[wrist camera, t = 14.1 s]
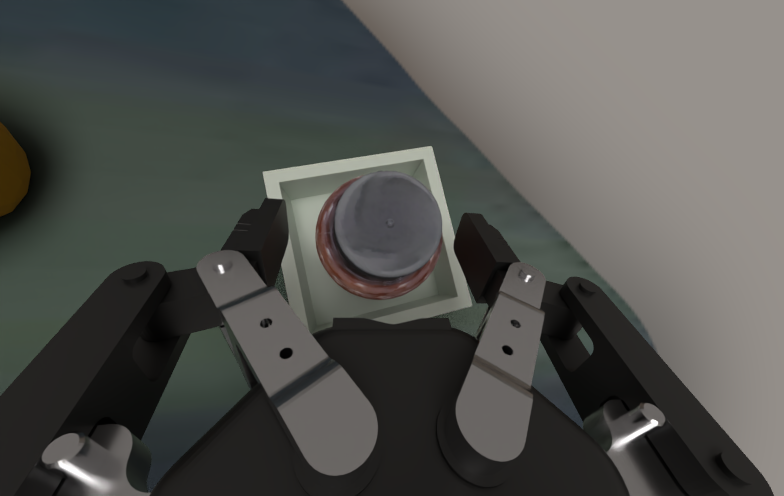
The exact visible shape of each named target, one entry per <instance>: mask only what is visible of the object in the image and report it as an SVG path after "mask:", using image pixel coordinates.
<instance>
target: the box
mask: <svg viewBox="0 0 784 496" xmlns="http://www.w3.org/2000/svg"><path fill="white" fill-rule="evenodd" d="M381 170H382V171H397V172H402V173H405V174H407V175H409V176H412V177H414V178H415V179H417V180H419V181H420V182H421V183H422V184H423V185H424V186H425V187H426V188H427V189H428V190H429V191H430V192H431V193H432V194H433V196H434V198H435V199H436V201H437V203H438V206H439V209H440V212H441V216H442V233H443V234H442V237H443V239H442V240H443V242H442V248H441V253H440V256H439V259H438V261H437V264H436V265H435V267H434V269H433V271H432V273H431V274H430V275H429V277H428V278H427V279H426V280H425V281H424V282H423V283H422V284H421V285H419V286H418V287H417V288H415V289H414V290H412V291H410V292H409V293H407V294H405V295H402V296H400V297H396V298H392V299H386V300H373V299H366V298H362V297H359V296H356V295H354V294H351V293H349V292H348V291H346V290H344V289H343V288H342V287H340V286H339V285H338V284H337V283H336V282H335V281H334V280H333V279H332V278H331V276H330V275H329V274H328V273H327V271H326V270H325V268H324V267H323V265H322V263H321V261H320V259H319V256H318V253H317V249H316V239H315V232H316V224H317V220H318V216H319V213H320V211H321V209H322V207H323V205H324V203H325V201H326V200H327V199H328V198H329V196H330V195H331V194H332V193H333V192H334V191H335V190H336V189H337V188H338V187H340V186H341V185H342V184H344V183H346V182H347V181H349V180H351V179H353V178H356V177H359V176H362V175H367V174H369V173H373V172H377V171H381ZM263 176H264V181H265V186H266V191H267V196H268V198H272V199H284V200H285V202H286V209H287V218H288V228H289V239H288V245H287V248H286V251H285V254H284V257H283V260H282V263H281V266H282V271H283V276H284V281H285V286H286V291H287V296H288V301H289V306H290V307H291V308H292V310H293V311H294V312H295V314H296V315H297V316H298V317H299V319H300V320H301V321H302V323H303V324H304V325H305V327H306V328H307V329H308V330H309V332H310V333H311V334H313V333H315V332H318V331H320V330H323V329H325V328H329V327H332V326H333V318H366V319H371V320H375V321H380V322H384V323H389V324H398V323H403V322H407V321H411V320H416V319H420V318H429V317H433V316H437V315H440V314H444V313H448V312H451V311H455V310H459V309H462V308H466V307H470V306H472V302H471V298H470V294H469V291H468V287H467V283H466V279H465V276H464V273H463V271H462V269H461V266H460V264H459V262H458V260H457V257H456V255H455V253H454V248H453V245H454V239H455V235H454V232H453V228H452V224H451V220H450V216H449V212H448V208H447V204H446V200H445V196H444V192H443V188H442V184H441V180H440V177H439V173H438V169H437V165H436V161H435V157H434V153H433V149H432V146H429V147H422V148H416V149H409V150H403V151H396V152H390V153H383V154H377V155H370V156H364V157H357V158H351V159H344V160H338V161H331V162H325V163H318V164H311V165H305V166H298V167H292V168H285V169H279V170H272V171H266V172H263Z"/></svg>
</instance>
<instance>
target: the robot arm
mask: <svg viewBox="0 0 784 496" xmlns="http://www.w3.org/2000/svg"><path fill="white" fill-rule="evenodd" d="M288 239H289V228H288V218H287V209H286V202H285V200H284V199H272V198H265V199H264V201H263V203H262V205H261V207H260V209H251V210H249V211H248V212H246V213H245V214H243V215H242V216H241V218H240V220H239V221H238V224H237V225H236V226H235V228H234V231H232V233H231V234H230V236H229V238H228V239H227V241H226V243H225V244H224V246H223V247H222V249H221V251H217V252H214V253H211V254H209V255H207V256H205V257H204V258H202V259H201V260H200V261H199V262H198V264H197V267H196V268H191V269H186V270H180V271H174V272H168V273H167V272H166V270H165V268H164V266H163V265H162V264H160V263H157V262H151V261H144V262H137V263H133V264H129V265H126V266H124V267H122V268H120V269H118V270H116V271H114V272H113V273H112V274H110V275H109V276H108V277H107V278H106V279H105V280H104V282H103V283H102V284H101V285H100V286H99V287H98V288H97V289H96V290H95V292H94V293H93V294H92V295H91V296H90V297H89V298H88V299H87V300H86V302H85V303H84V304H83V305H82V306H81V307H80V308H79V309H78V310H77V312H76V313H75V314H74V315H73V316H72V317H71V318H70V319H69V320H68V322H67V323H66V324H65V325H64V326H63V327H62V328H61V329H60V330H59V332H58V333H57V334H56V335H55V336H54V337H53V338H52V339H51V340H50V342H49V343H48V344H47V345H46V346H45V347H44V348H43V349H42V350H41V352H40V353H39V354H38V355H37V356H36V357H35V358H34V359H33V360H32V362H31V363H30V364H29V365H28V366H27V367H26V368H25V369H24V370H23V372H22V373H21V374H20V375H19V376H18V377H17V378H16V379H15V380H14V382H13V383H12V384H11V385H10V386H9V387H8V388H7V389H6V390H5V392H4V393H3V394H2V395H1V396H0V496H774V495H773V492H772V490H771V488H770V486H769V484H768V483H767V481H766V480H765V478H764V477H763V475H762V474H761V473H760V472H759V470H758V469H757V468H756V467H755V466H754V465H753V463H752V462H751V461H750V460H749V459H748V458H747V457H746V455H745V454H744V453H743V452H742V451H741V450H740V448H739V447H738V446H737V445H736V444H735V443H734V442H733V440H732V439H731V438H730V437H729V436H728V435H727V434H726V432H725V431H724V430H723V429H722V428H721V427H720V425H719V424H718V423H717V422H716V421H715V420H714V419H713V417H712V416H711V415H710V414H709V413H708V412H707V411H706V409H705V408H704V407H703V406H702V405H701V404H700V402H699V401H698V400H697V399H696V398H695V397H694V395H693V394H692V393H691V392H690V391H689V390H688V388H687V387H686V386H685V385H684V384H683V383H682V382H681V380H680V379H679V378H678V377H677V376H676V375H675V374H674V372H672V370H671V369H670V368H669V367H668V365H667V364H666V363H665V362H664V361H663V360H662V359H661V357H660V356H659V355H658V354H657V353H656V352H655V350H654V349H653V348H652V347H651V346H650V345H649V344H648V342H647V341H646V340H645V339H644V338H643V337H642V335H641V334H640V333H639V332H638V331H637V330H636V329H635V327H634V326H633V325H632V324H631V323H630V322H629V320H628V319H627V318H626V317H625V316H624V315H623V314H622V312H621V311H620V310H619V309H618V308H617V307H616V306H615V304H614V303H613V302H612V301H611V300H610V299H609V297H608V296H607V295H606V294H605V293H604V292H603V291H602V290H601V288H599V287H598V286H597V285H595V284H594V283H592V282H590V281H589V280H586V279H584V278H580V277H570V278H568V279H567V281H566V282H565V283H564V285H561V284H557V283H553V282H549V281H546V279H545V277H544V275H543V274H542V273H541V272H540V271H539V270H538V269H536V268H535V267H533V266H531V265H529V264H526V263H521V262H520V261H519V259H518V258H517V256H516V255H515V254H514V252H513V251H512V249H511V248H510V246H508V244H507V242H506V241H505V240H504V238H503V236H502V235H501V234H500V232H499V231H498V230H497V229H495V228H494V227H493V226H491V225H489V224H488V223H487V221H486V220H485V219H484V217H483V216H482V214H476V213H464V214H463V216H462V218H461V221H460V224H459V227H458V230H457V233H456V236H455V239H454V245H453V248H454V253H455V255H456V257H457V260H458V262H459V264H460V266H461V269H462V271H463V273H464V276H465V278H466V280H467V283H468V285H469V287H470V289H471V292H472V294H473V296H474V299H475V301H476V303H487V304H488V308H487V310H486V312H485V314H484V317H483V319H482V321H481V324H480V326H479V328H478V330H477V333H476V335H475V337H473V336H471V335H469V334H468V333H465V332H463V331H461V330H458V329H455V328H451V325H450V322H449V318H420V319H416V320H411V321H407V322H403V323H398V324H389V323H384V322H380V321H375V320H371V319H366V318H333V326H332V327H329V328H325V329H323V330H320V331H318V332H315V333H313V334H311V333H310V332H309V330H308V329H307V328H306V327H305V325H304V324H303V323H302V321H301V320H300V319H299V317H298V316H297V315H296V314H295V312H294V311H293V310H292V308H291V307H290V306H289V304H288V303H287V302H286V300H285V299H284V298H283V297H282V295H281V294H280V293H279V291H278V290H277V289H276V288H275V287H274V285H275V282H276V279H277V276H278V273H279V269H280V266H281V263H282V260H283V257H284V254H285V251H286V248H287V245H288ZM217 326H219V328H220V330H221V332H222V334H223V336H224V338H225V339H226V341H227V343H228V345H229V347H230V349H231V351H232V353H233V355H234V357H235V359H236V361H237V363H238V365H239V367H240V369H241V371H242V373H243V376H244V378H245V380H246V382H247V384H248V386H249V388H250V391H249V392H248V393H247V394H246V395H245V396H244V397H243V398H242V399H241V400H240V401H239V402H238V403H237V404H236V405H235V406H234V407H233V408H231V409H230V410H229V411H228V412H227V413H226V414H225V415H224V416H223V417H222V418H221V419H220V420H219V421H218V422H217V423H216V424H215V425H214V426H213V427H212V428H211V429H210V430H209V431H208V432H207V433H206V434H205V435H204V436H203V437H202V438H201V439H200V440H199V441H197V442H196V443H195V444H194V445H193V446H192V447H191V448H190V449H189V450H188V451H187V452H186V453H185V454H184V455H183V456H182V457H181V458H180V459H179V460H178V461H177V462H176V463H175V464H174V465H173V466H172V467H171V468H170V469H169V470H168V471H167V472H166V473H165V475H164V476H163V477H162V478H161V479H160V481H159V482H158V483H157V485H156V486H155V488H154V489H153V491H152V492H151V493H148V490H147V478H148V474H149V470H150V467H151V460H152V458H151V452H150V450H149V448H148V447H147V446H146V445H145V444H144V443H143V442H142V441H141V439H142V437H143V434H144V432H145V430H146V428H147V426H148V424H149V422H150V419H151V417H152V415H153V413H154V411H155V409H156V407H157V404H158V402H159V400H160V398H161V396H162V394H163V392H164V389H165V387H166V385H167V383H168V381H169V379H170V377H171V374H172V372H173V370H174V368H175V366H176V364H177V362H178V359H179V357H180V355H181V353H182V351H183V349H184V347H185V344H186V342H187V340H188V338H189V336H190V334H191V333H193V332H197V331H201V330H205V329H209V328H213V327H217ZM582 327H583V328H584V330H585V331H586V332H587V334H588V335H589V337H590V338H591V340H592V342H593V345H594V350H593V353H592V355H591V356H590V354H589V353H588V351H587V350H586V348H585V347H584V345H583V344H582V342H581V341H580V339H579V337H578V336H577V333H578V331H579V330H580V329H581V328H582ZM540 341H541V343H542V345H543V346H544V348H545V350H546V352H547V354H548V356H549V358H550V360H551V362H552V364H553V365H554V367H555V369H556V371H557V373H558V375H559V377H560V379H561V381H562V383H563V385H564V386H565V388H566V390H567V392H568V394H569V396H570V398H571V400H572V402H573V404H574V405H575V407H576V409H577V411H578V413H579V415H580V417H581V419H582V421H583V429H582V428H581V427H580V426H578V425H577V424H576V423H575V422H574V421H573V420H571V419H570V418H569V417H568V416H567V415H565V414H564V413H563V412H562V411H561V410H560V409H558V408H557V407H556V406H555V405H554V404H553V403H551V402H550V401H549V400H548V399H547V398H546V397H544V396H543V395H542V394H541V393H540V392H539V391H537V390H536V389H535V388H534V387H533V386H532V385H531V383H532V378H533V373H534V368H535V362H536V357H537V352H538V347H539V342H540Z"/></svg>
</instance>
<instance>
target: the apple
mask: <svg viewBox="0 0 784 496" xmlns="http://www.w3.org/2000/svg"><path fill="white" fill-rule="evenodd" d="M30 175H31V171H30V167H29V163H28V160H27V156H26V153H25V151H24V150H23V149H22V148H21V146H20V145H19V144H18V142H17V141H16V140H15V139H14V137H13V136H12V135H11V133H10V132H9V131H8V130H7V128H6V127H5V126H4V125H3V124H2V123H1V122H0V217H1V216H3V215H5V214H8V213H10V212H12V211H13V210H14V209H15V208H16V206H17V205H18V204H19V202H20V201H21V200H22V199H23V197H24V196H25V195H26V194H27V192H28V186H29V180H30Z"/></svg>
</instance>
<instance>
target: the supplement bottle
mask: <svg viewBox="0 0 784 496" xmlns="http://www.w3.org/2000/svg"><path fill="white" fill-rule="evenodd" d="M442 234H443V233H442V216H441V212H440V209H439V206H438V203H437V201H436V199H435V198H434V196H433V194H432V193H431V192H430V191H429V190H428V189H427V188H426V187H425V186H424V185H423V184H422V183H421V182H420V181H419V180H417V179H415V178H414V177H412V176H409V175H407V174H405V173H402V172H397V171H382V170H381V171H377V172H373V173H369V174H367V175H362V176H359V177H356V178H353V179H351V180H349V181H347V182H346V183H344V184H342V185H341V186H340V187H338V188H337V189H336V190H335V191H334V192H333V193H332V194H331V195H330V196H329V198H328V199H327V200H326V201H325V203H324V205H323V207H322V209H321V211H320V213H319V216H318V220H317V224H316V232H315V239H316V249H317V253H318V256H319V259H320V261H321V263H322V265H323V267H324V268H325V270H326V271H327V273H328V274H329V275H330V276H331V278H332V279H333V280H334V281H335V282H336V283H337V284H338V285H339V286H340V287H342V288H343V289H344V290H346V291H348V292H349V293H351V294H354V295H356V296H359V297H362V298H366V299H373V300H386V299H392V298H396V297H400V296H402V295H405V294H407V293H409V292H410V291H412V290H414V289H415V288H417V287H418V286H419V285H421V284H422V283H423V282H424V281H425V280H426V279H427V278H428V277H429V275H430V274H431V273H432V271H433V269H434V267H435V265H436V264H437V261H438V259H439V256H440V253H441V248H442V242H443V240H442V239H443V237H442Z"/></svg>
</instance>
